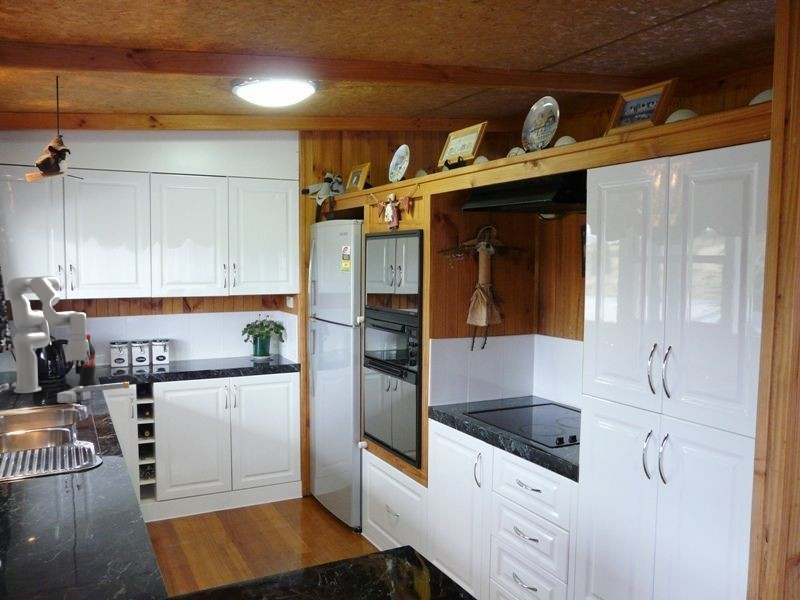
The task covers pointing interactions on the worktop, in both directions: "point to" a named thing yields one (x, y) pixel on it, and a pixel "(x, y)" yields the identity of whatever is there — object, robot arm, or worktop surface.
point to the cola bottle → (88, 368)
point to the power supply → (66, 397)
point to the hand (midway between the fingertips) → (79, 373)
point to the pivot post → (80, 399)
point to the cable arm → (101, 387)
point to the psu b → (84, 394)
